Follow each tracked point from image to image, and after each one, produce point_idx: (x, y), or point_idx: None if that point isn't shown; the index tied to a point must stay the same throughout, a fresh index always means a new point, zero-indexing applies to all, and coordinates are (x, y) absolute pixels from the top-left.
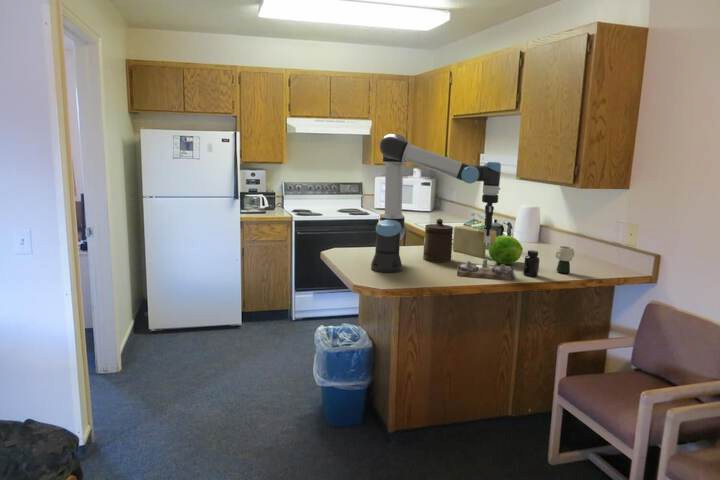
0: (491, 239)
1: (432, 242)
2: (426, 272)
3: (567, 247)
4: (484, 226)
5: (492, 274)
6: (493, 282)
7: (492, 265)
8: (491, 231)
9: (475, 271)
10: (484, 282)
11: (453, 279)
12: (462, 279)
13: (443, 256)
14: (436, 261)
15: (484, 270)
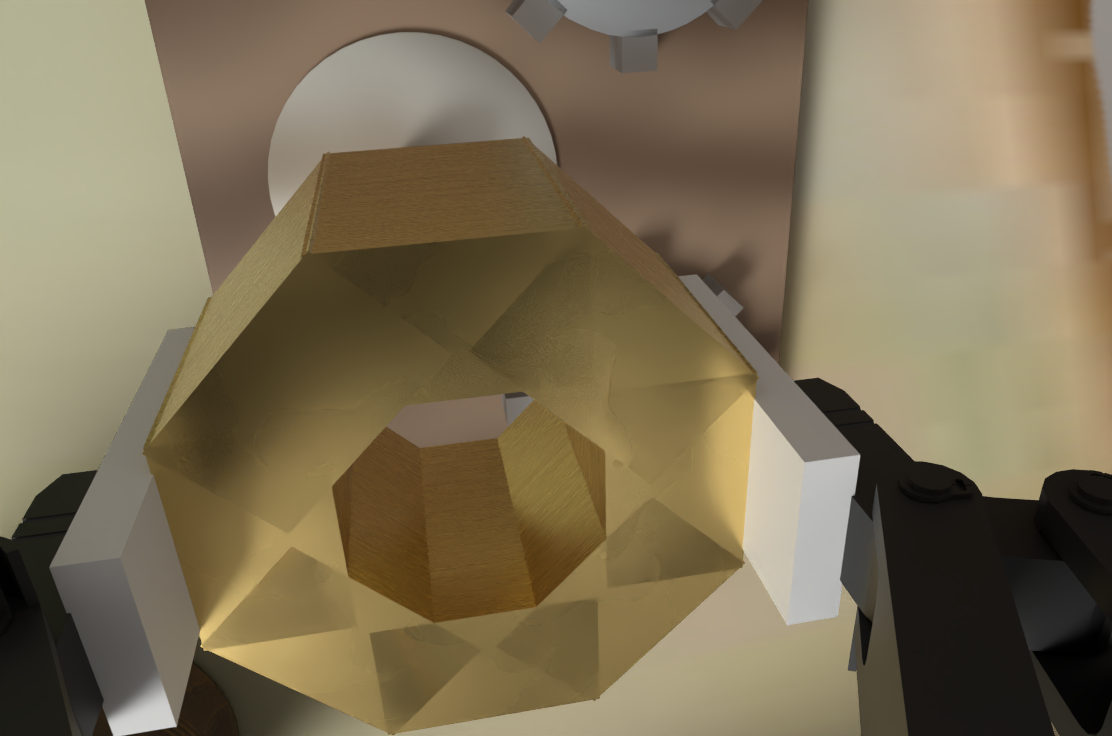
0: (669, 275)
1: None
2: (712, 689)
3: None
4: (131, 717)
5: (803, 52)
6: (954, 25)
7: (206, 59)
8: (462, 395)
9: (719, 282)
10: (970, 136)
11: (907, 448)
12: (890, 372)
13: (182, 725)
14: (235, 726)
15: (608, 172)
